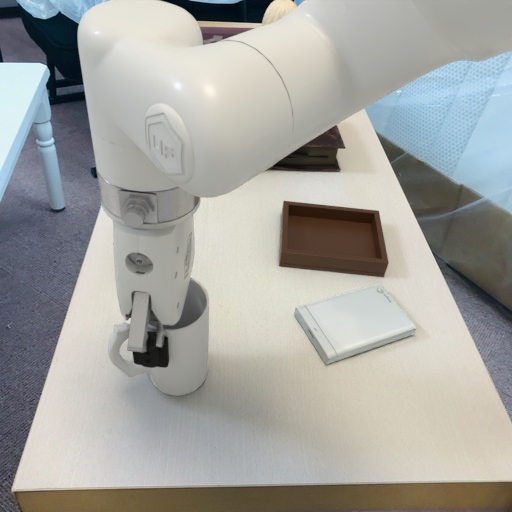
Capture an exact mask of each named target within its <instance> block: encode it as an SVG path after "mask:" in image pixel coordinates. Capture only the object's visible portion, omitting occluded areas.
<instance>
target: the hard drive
mask: <svg viewBox="0 0 512 512" xmlns="http://www.w3.org/2000/svg"><path fill="white" fill-rule="evenodd" d="M293 314H294V316H295V318H296V320H297V321H298V323H299V324H300V326H301V327H302V329H303V331H304V333H305V334H306V336H307V337H308V339H309V340H310V342H311V344H312V345H313V347H314V348H315V350H316V351H317V353H318V354H319V355H318V356H320V358H321V360H322V361H323V362H324V364H325V365H329V364H332V363H335V362H338V361H341V360H343V359H344V360H345V359H347V358H350V357H352V356H356V355H358V354H361V353H364V352H367V351H370V350H373V349H375V348H379V347H382V346H385V345H387V344H390V343H393V342H395V341H399V340H402V339H405V338H407V337H410V336H413V335H415V334H416V331H417V325H416V324H415V323H414V322H413V320H412V319H411V318H410V316H409V315H407V313H406V312H405V311H404V309H402V308H401V306H400V304H398V303H397V301H396V300H395V299H394V298H393V297H392V295H391V294H390V293H389V292H388V291H387V290H386V288H385V287H384V286H383V285H382V284H381V283H379V282H377V283H374V284H370V285H367V286H364V287H360V288H357V289H354V290H350V291H346V292H342V293H340V294H337V295H336V294H335V295H333V296H329V297H326V298H322V299H319V300H315V301H312V302H309V303H306V304H303V305H299V306H295V308H294V313H293Z"/></svg>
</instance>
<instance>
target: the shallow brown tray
mask: <svg viewBox="0 0 512 512" xmlns="http://www.w3.org/2000/svg"><path fill="white" fill-rule="evenodd" d="M278 261H279V262H278V266H279V267H284V268H285V267H286V268H295V269H303V270H314V271H315V270H316V271H323V272H333V273H340V274H341V273H343V274H350V275H351V274H352V275H361V276H372V277H379V278H384V277H385V276H386V272H387V269H388V266H389V258H388V253H387V247H386V242H385V237H384V231H383V225H382V221H381V215H380V210H375V209H367V208H357V207H347V206H338V205H328V204H318V203H310V202H309V203H308V202H300V201H289V200H283V201H282V208H281V217H280V238H279V259H278Z"/></svg>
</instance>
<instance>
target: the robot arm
mask: <svg viewBox="0 0 512 512" xmlns="http://www.w3.org/2000/svg"><path fill="white" fill-rule="evenodd" d="M199 26H200V25H199V23H198V21H197V19H196V18H195V17H194V16H193V15H192V14H191V13H190V12H188V11H187V10H186V9H185V8H183V7H181V6H178V5H176V4H173V3H170V2H168V1H164V0H107V1H103V2H100V3H97V4H96V5H93V6H92V7H90V8H89V9H88V10H86V12H85V13H83V15H82V17H81V18H80V21H79V23H78V26H77V33H76V34H77V49H78V55H79V62H80V63H79V64H80V69H81V70H80V71H81V76H82V83H83V89H84V90H83V91H84V96H85V102H86V103H85V104H86V109H87V115H88V116H87V117H88V123H89V129H90V136H91V141H92V148H93V156H94V162H95V171H96V176H97V177H96V178H97V183H98V190H99V191H98V192H99V197H100V205H101V207H102V210H103V212H104V213H105V215H106V216H107V217H108V218H110V219H111V221H112V238H113V239H112V246H113V262H114V263H113V265H114V275H115V278H114V279H115V287H116V296H117V302H118V307H119V311H120V314H121V316H122V317H123V319H124V320H126V321H129V319H130V321H129V323H130V329H129V337H128V339H127V344H126V347H127V348H126V350H127V352H132V359H133V360H132V361H134V363H135V364H137V365H142V366H144V367H149V368H155V367H163V368H166V367H168V364H169V347H168V337H165V336H164V334H165V325H174V324H176V323H177V322H178V321H179V319H180V317H181V314H182V310H183V306H184V302H185V298H186V294H187V290H188V285H189V281H190V277H191V276H192V272H193V267H194V261H195V254H196V244H195V242H196V241H195V240H196V239H195V222H194V221H195V220H194V219H195V218H194V217H195V216H194V214H196V212H197V211H198V209H199V208H200V205H201V198H202V199H203V198H205V199H208V198H209V199H213V198H219V197H221V196H225V195H228V194H230V193H232V192H233V191H235V190H237V189H239V188H240V187H242V186H244V185H245V184H246V183H249V181H251V180H252V179H254V178H256V177H257V176H259V175H261V174H262V173H263V172H265V171H267V170H268V169H271V168H270V167H271V166H273V165H274V164H276V163H277V162H278V161H280V160H281V159H283V158H284V157H286V156H287V155H289V154H290V153H292V152H294V151H295V150H297V149H298V148H300V147H301V146H303V145H304V144H306V143H308V142H309V141H311V140H313V139H314V138H316V137H318V136H319V135H321V134H322V133H324V132H326V131H327V130H329V129H330V128H332V127H334V126H335V125H337V126H338V125H339V124H340V123H342V122H343V121H346V120H347V119H349V118H350V117H352V116H353V115H355V114H357V113H359V112H361V111H362V110H364V109H366V108H367V107H369V106H371V105H373V104H374V103H377V102H378V101H380V100H381V99H384V98H385V97H387V96H388V95H390V94H392V93H394V92H396V91H397V90H399V89H401V88H403V87H405V86H407V85H409V84H411V83H412V82H414V81H416V80H418V79H419V78H421V77H423V76H425V75H427V74H429V73H431V72H433V71H435V70H437V69H439V68H442V67H444V66H447V65H450V64H452V63H455V62H461V61H462V62H463V61H465V62H474V63H479V62H484V61H488V60H490V59H493V58H495V57H499V56H501V55H504V54H506V53H509V52H511V51H512V0H303V1H302V2H301V3H299V5H297V7H296V8H295V9H294V10H292V11H291V12H290V13H288V14H287V15H285V16H284V17H282V18H281V19H279V20H277V21H275V22H273V23H270V24H267V25H264V26H262V25H261V26H257V27H254V28H255V29H252V30H249V31H246V32H243V33H241V34H238V35H235V36H232V37H229V38H226V39H224V40H221V41H218V42H216V43H211V44H206V45H203V38H202V33H201V30H200V27H201V26H200V27H199ZM151 305H152V309H151ZM149 320H150V321H157V330H156V332H151V331H148V324H149Z"/></svg>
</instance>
